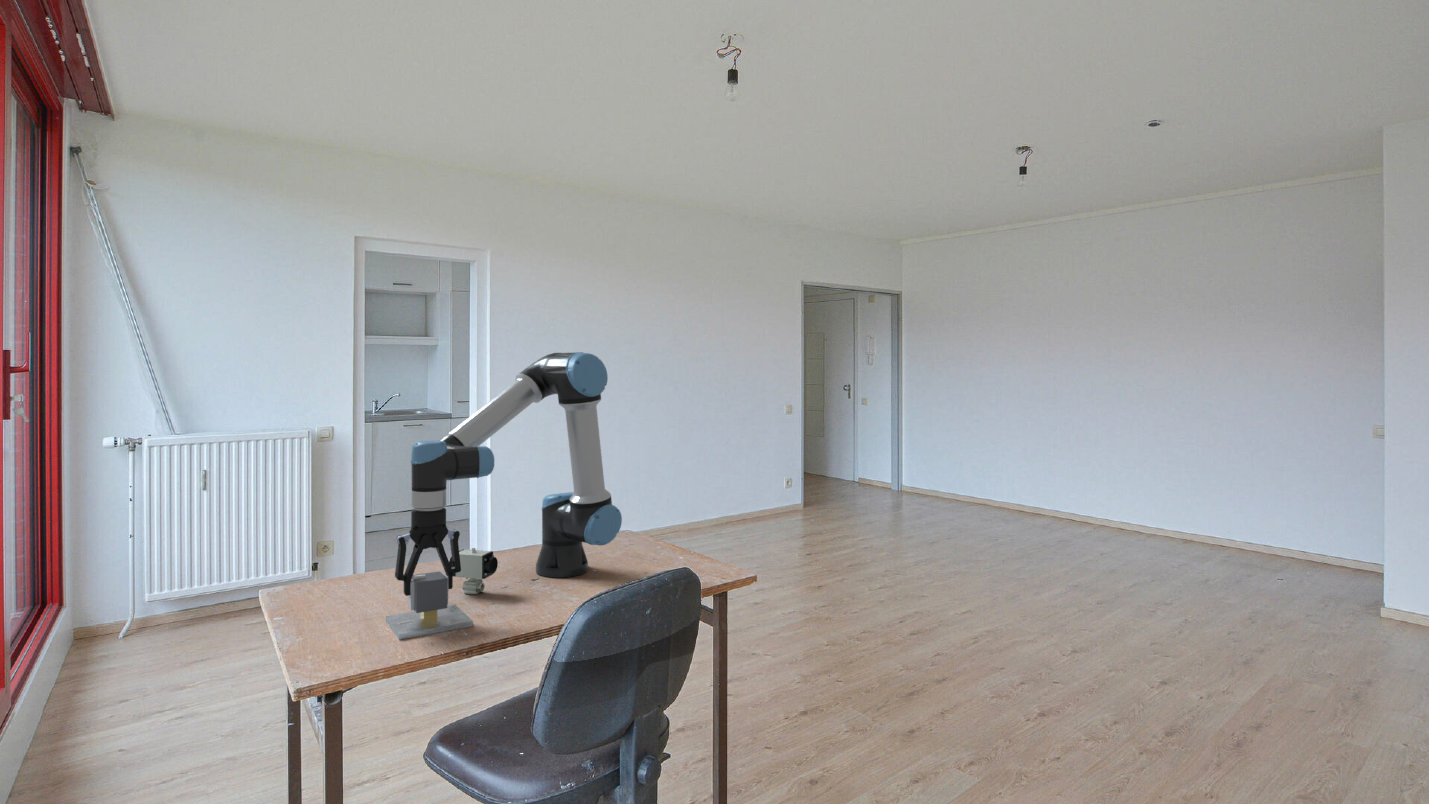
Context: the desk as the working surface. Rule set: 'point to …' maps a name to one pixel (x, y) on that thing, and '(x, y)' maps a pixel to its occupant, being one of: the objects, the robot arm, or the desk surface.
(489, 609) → the desk surface
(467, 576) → the pneumatic valve
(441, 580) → the grey cabinet with handle
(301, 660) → the desk surface
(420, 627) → the grey peg base
